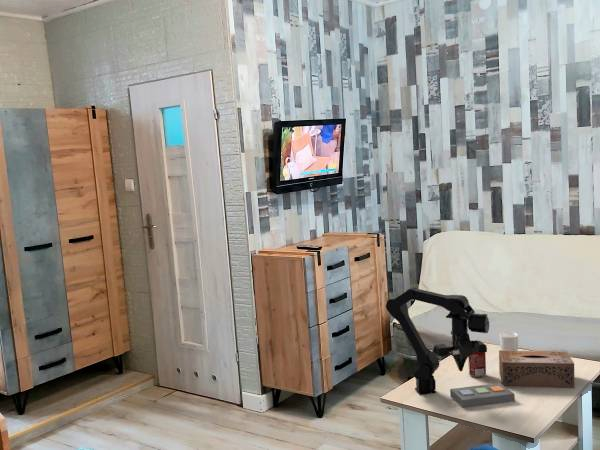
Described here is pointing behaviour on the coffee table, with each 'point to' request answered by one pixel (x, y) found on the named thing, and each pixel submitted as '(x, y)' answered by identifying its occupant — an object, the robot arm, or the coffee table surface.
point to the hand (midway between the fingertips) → (460, 370)
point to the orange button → (496, 389)
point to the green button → (481, 390)
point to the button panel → (482, 396)
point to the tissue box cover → (536, 369)
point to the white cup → (509, 341)
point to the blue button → (466, 392)
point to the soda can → (477, 364)
